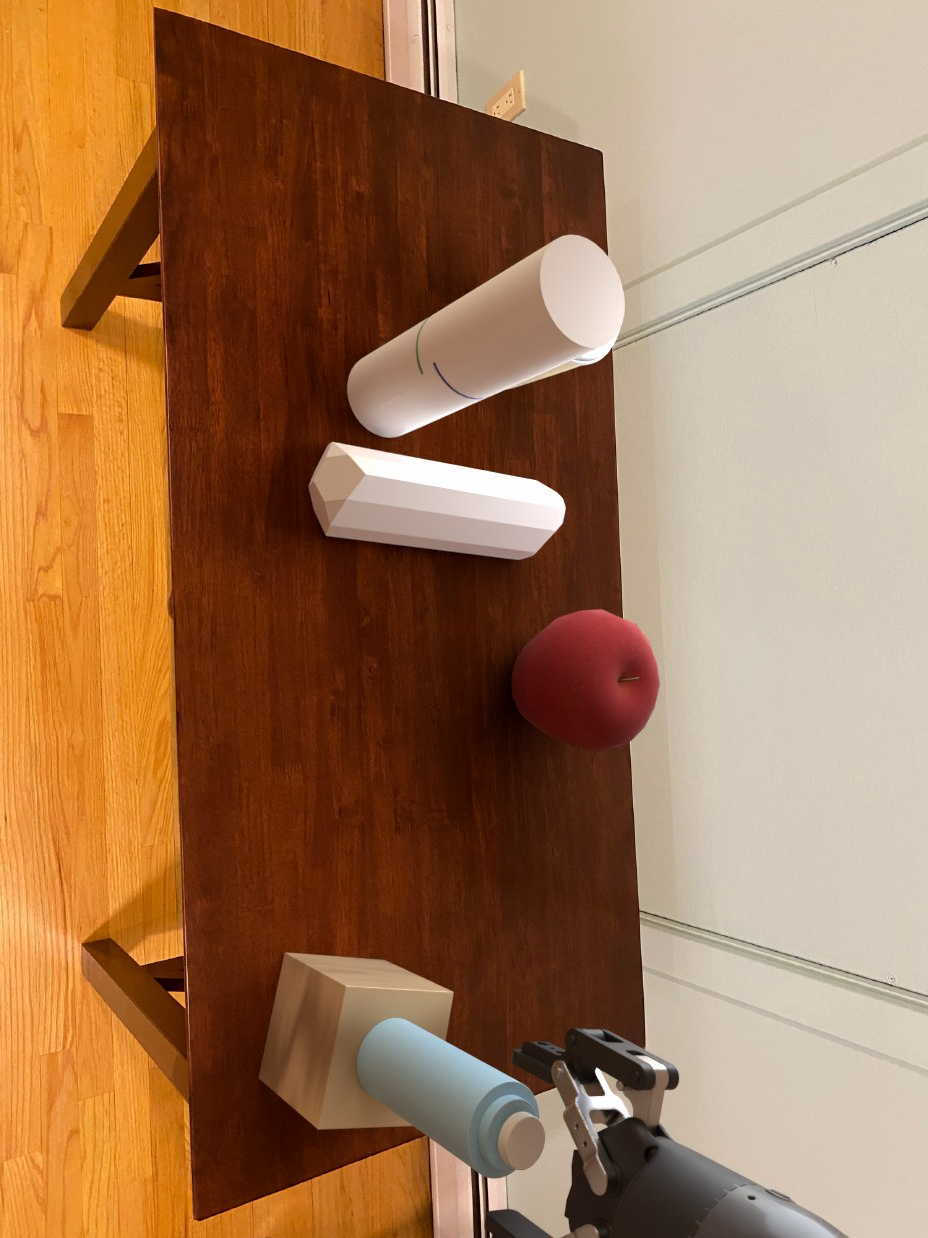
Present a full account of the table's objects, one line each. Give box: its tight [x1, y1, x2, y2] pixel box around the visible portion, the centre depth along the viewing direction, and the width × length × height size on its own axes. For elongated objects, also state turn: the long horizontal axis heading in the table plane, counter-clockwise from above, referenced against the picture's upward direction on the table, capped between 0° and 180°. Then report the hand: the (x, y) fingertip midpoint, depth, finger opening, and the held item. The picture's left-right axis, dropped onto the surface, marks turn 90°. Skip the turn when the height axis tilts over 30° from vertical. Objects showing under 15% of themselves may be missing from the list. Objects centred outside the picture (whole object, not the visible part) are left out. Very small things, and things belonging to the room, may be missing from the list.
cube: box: [258, 952, 454, 1131], centre depth 68 cm, size 9×9×10 cm
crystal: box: [308, 441, 566, 561], centre depth 79 cm, size 7×7×24 cm
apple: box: [511, 608, 661, 753], centre depth 81 cm, size 12×12×13 cm
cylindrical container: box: [346, 234, 626, 439], centre depth 69 cm, size 7×7×25 cm
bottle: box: [356, 1018, 546, 1180], centre depth 58 cm, size 5×5×15 cm
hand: (510, 1135), depth 53 cm, fingers open, 8 cm apart
